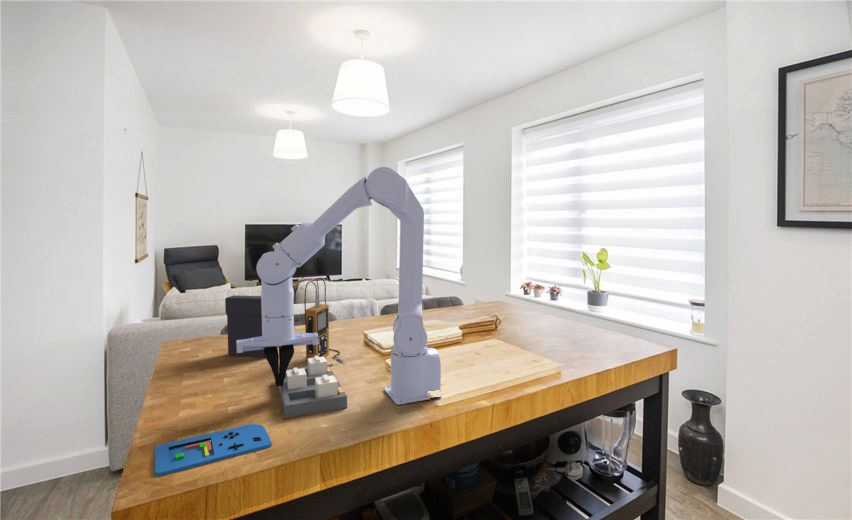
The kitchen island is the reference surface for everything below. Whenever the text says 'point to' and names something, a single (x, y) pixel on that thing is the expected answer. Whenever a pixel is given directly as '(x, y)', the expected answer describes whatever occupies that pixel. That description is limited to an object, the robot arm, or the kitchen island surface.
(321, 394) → the tab
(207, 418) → the kitchen island surface
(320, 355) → the multimeter
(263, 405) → the kitchen island surface
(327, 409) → the switch bank
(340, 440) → the kitchen island surface
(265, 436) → the handheld gaming device
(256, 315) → the dark gray lidded box
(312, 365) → the tab
